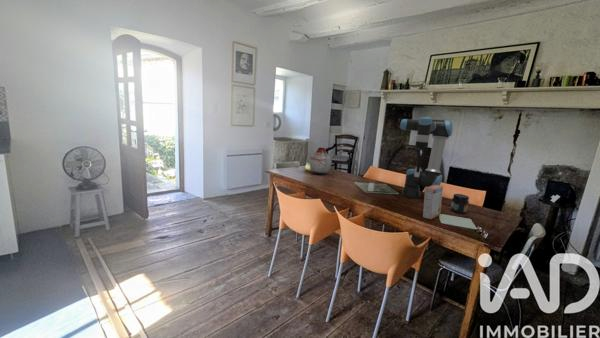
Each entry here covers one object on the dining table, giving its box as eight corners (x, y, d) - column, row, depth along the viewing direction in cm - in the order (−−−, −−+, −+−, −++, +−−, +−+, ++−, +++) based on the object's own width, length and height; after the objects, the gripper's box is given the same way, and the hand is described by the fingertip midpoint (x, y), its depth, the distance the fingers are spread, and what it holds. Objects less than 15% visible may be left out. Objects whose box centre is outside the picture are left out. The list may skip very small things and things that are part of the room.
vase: (319, 170, 297) (321, 146, 291) (335, 175, 280) (337, 149, 274) (304, 172, 282) (305, 146, 276) (319, 177, 265) (321, 150, 259)
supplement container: (469, 212, 190) (472, 197, 187) (461, 214, 185) (464, 198, 182) (455, 207, 199) (458, 192, 196) (446, 209, 194) (449, 194, 191)
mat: (437, 213, 184) (437, 213, 184) (470, 219, 177) (470, 219, 177) (441, 223, 168) (441, 222, 168) (477, 229, 161) (477, 229, 161)
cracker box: (431, 213, 184) (434, 184, 181) (440, 215, 180) (443, 185, 176) (421, 217, 176) (424, 186, 172) (430, 220, 171) (434, 188, 167)
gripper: (415, 139, 180) (410, 172, 185) (416, 141, 165) (410, 177, 170) (427, 140, 178) (421, 174, 183) (429, 143, 162) (423, 179, 167)
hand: (416, 176), depth 176 cm, fingers open, 4 cm apart
